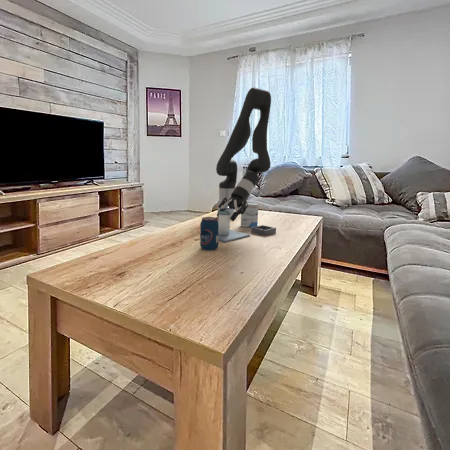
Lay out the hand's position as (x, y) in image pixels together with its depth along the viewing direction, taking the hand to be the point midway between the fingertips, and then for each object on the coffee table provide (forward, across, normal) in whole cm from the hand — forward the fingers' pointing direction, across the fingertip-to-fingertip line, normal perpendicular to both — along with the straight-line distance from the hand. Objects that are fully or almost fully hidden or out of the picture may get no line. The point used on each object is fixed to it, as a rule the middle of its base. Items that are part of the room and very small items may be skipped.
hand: (224, 218), depth 140 cm
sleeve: (-7, +8, +18) cm, 21 cm away
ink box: (-11, -6, +23) cm, 26 cm away
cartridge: (+6, 0, +4) cm, 7 cm away
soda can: (+19, +10, -8) cm, 23 cm away
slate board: (+6, 0, +6) cm, 8 cm away
